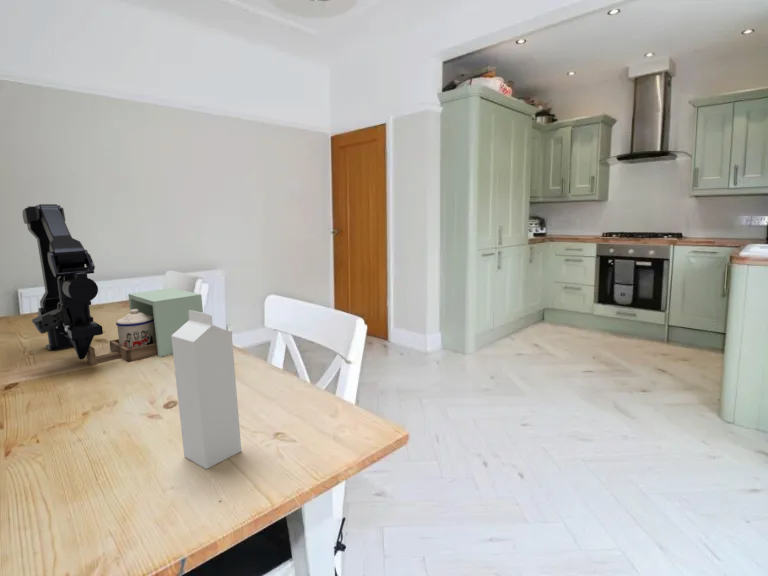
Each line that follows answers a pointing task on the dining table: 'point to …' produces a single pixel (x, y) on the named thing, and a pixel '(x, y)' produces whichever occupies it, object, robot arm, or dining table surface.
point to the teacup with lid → (136, 330)
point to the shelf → (166, 312)
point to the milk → (206, 390)
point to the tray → (122, 353)
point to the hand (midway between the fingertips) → (81, 358)
